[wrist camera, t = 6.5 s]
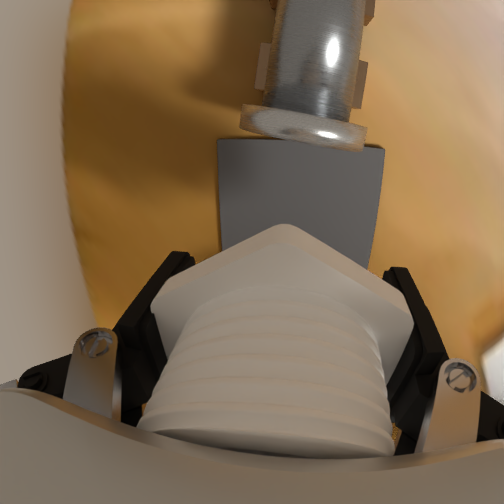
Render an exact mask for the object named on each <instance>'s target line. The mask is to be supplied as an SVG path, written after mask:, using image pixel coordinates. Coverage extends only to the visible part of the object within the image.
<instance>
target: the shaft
mask: <svg viewBox="0 0 504 504" xmlns="http://www.w3.org/2000/svg"><path fill="white" fill-rule="evenodd" d="M269 2H270V4H271V7H272V9H276V15H275V22H274V28H273V35H272V41H271V43H261V45H260V52H259V58H258V65H257V72H256V79H255V86H254V89H256V90H259V91H264V95H263V101H262V106H260V105H251V104H242V109H241V116H240V124H239V128H241V129H243V130H246V131H249V132H253V133H257V134H261V135H266V136H270V137H275V138H280V139H285V140H290V141H295V142H300V143H305V144H310V145H316V146H321V147H327V148H332V149H338V150H345V151H352V152H362V151H363V147H364V143H365V138H366V133H367V127H364V126H360V125H356V124H353V123H349V117H350V112H351V108H353V109H361V104H362V98H363V93H364V87H365V80H366V74H367V67H368V62H364V61H361V60H359V56H360V49H361V41H362V33H363V25H364V26H367V25H368V24H369V22H370V21H371V20H372V18H373V17H374V8H375V0H269Z"/></svg>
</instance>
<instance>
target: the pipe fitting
mask: <svg viewBox="0 0 504 504" xmlns="http://www.w3.org/2000/svg"><path fill="white" fill-rule="evenodd" d="M151 313H154V315H155V318H156V322H157V326H158V329H159V333H160V336H161V340H162V343H163V346H164V350H165V353H166V356H167V359H168V361H167V364H166V365H165V367H164V369H163V371H162V373H161V376H160V378H159V381H158V382H157V384H156V386H155V388H154V390H153V392H152V397H151V398H150V399H149V401H148V402H147V404H146V407H145V410H144V413H143V417H141V419H140V421H139V423H138V424H137V427H136V428H139V429H142V430H145V431H149V432H152V433H155V434H159V435H162V436H166V437H170V438H173V439H177V440H181V441H185V442H190V443H194V444H199V445H203V446H208V447H213V448H218V449H224V450H229V451H236V452H242V453H249V454H257V455H266V456H276V457H288V458H304V459H362V458H378V457H389V456H393V455H394V452H395V445H394V441H393V439H392V438H391V436H392V430H393V428H392V423H391V420H390V406H389V402H388V400H387V388H386V385H387V383H388V381H389V380H390V378H391V376H392V374H393V372H394V370H395V368H396V366H397V364H398V362H399V360H400V358H401V356H402V353H403V351H404V349H405V346H406V344H407V342H408V339H409V337H410V335H411V332H412V330H413V325H414V322H413V318H412V315H411V313H410V310H409V308H408V305H407V303H406V300H405V298H404V296H403V294H402V293H401V292H400V291H399V290H397V289H396V288H394V287H393V286H391V285H390V284H388V283H387V282H385V281H384V280H382V279H380V278H379V277H377V276H376V275H374V274H373V273H371V272H370V271H368V270H366V269H365V268H363V267H362V266H360V265H358V264H357V263H355V262H354V261H352V260H351V259H349V258H347V257H346V256H344V255H342V254H341V253H339V252H338V251H336V250H334V249H333V248H331V247H329V246H328V245H326V244H325V243H323V242H321V241H320V240H318V239H316V238H315V237H313V236H311V235H310V234H308V233H306V232H305V231H303V230H301V229H300V228H298V227H295V226H293V225H290V224H279V225H275V226H273V227H271V228H268V229H266V230H264V231H262V232H260V233H258V234H256V235H254V236H252V237H250V238H248V239H246V240H244V241H242V242H240V243H238V244H236V245H234V246H232V247H230V248H228V249H226V250H224V251H222V252H220V253H218V254H216V255H214V256H212V257H210V258H208V259H206V260H204V261H202V262H200V263H198V264H196V265H194V266H192V267H190V268H188V269H186V270H184V271H182V272H180V273H178V274H176V275H174V276H172V277H170V278H169V279H168V280H167V281H166V282H165V284H164V285H163V286H162V288H161V289H160V291H159V292H158V294H157V295H156V297H155V298H154V299H153V301H152V303H151Z"/></svg>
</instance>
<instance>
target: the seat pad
mask: <svg viewBox="0 0 504 504" xmlns="http://www.w3.org/2000/svg"><path fill="white" fill-rule="evenodd" d="M217 153H218V179H219V201H220V221H221V239H222V251H224V250H226V249H228V248H230V247H232V246H234V245H236V244H238V243H240V242H242V241H244V240H246V239H248V238H250V237H252V236H254V235H256V234H258V233H260V232H262V231H264V230H266V229H268V228H271V227H273V226H275V225H279V224H290V225H293V226H295V227H298V228H300V229H301V230H303V231H305V232H306V233H308V234H310V235H311V236H313V237H315V238H316V239H318V240H320V241H321V242H323V243H325V244H326V245H328V246H329V247H331V248H333V249H334V250H336V251H338V252H339V253H341V254H342V255H344V256H346V257H347V258H349V259H351V260H352V261H354V262H355V263H357V264H358V265H360V266H362V267H363V268H365V269H366V270H367V268H368V263H369V258H370V253H371V248H372V242H373V237H374V231H375V225H376V219H377V213H378V206H379V199H380V192H381V184H382V176H383V167H384V157H385V149H382V148H375V147H367V146H364V147H363V151H362V152H352V151H345V150H338V149H332V148H327V147H321V146H316V145H310V144H305V143H300V142H295V141H290V140H279V139H217Z"/></svg>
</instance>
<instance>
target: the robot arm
mask: <svg viewBox="0 0 504 504" xmlns="http://www.w3.org/2000/svg"><path fill="white" fill-rule="evenodd" d="M194 265H195V260H194V257H192V256H190V254H189V253H188V252H180V251H172V252H171V253H170V254H169V256H168V257H167V258H166V259H165V261H164V262H163V263H162V264H161V266H160V267H159V268H158V269H157V271H156V272H155V273H154V275H153V276H152V277H151V278H150V280H149V281H148V282H147V284H146V285H145V286H144V287H143V289H142V290H141V291H140V293H139V294H138V295H137V297H136V298H135V299H134V301H133V302H132V303H131V305H130V306H129V307H128V309H127V310H126V311H125V313H124V314H123V315H122V317H121V318H120V319H119V321H118V322H117V324H116V325H115V327H114V328H113V330H110V329H107V328H94V329H91V330H89V331H86V332H85V333H83V334H82V335H80V337H79V338H78V339H77V341H76V343H75V345H74V348H73V352H72V354H69V355H66V356H64V357H61V358H58V359H55V360H52V361H49V362H46V363H43V364H40V365H37V366H34V367H32V368H30V369H28V370H27V371H25V372H24V373H23V374H22V376H21V377H20V379H19V382H18V381H17V380H16V379H15V380H12V381H9V382H6V383H4V384H1V385H0V504H504V405H502V404H501V403H499V402H498V401H496V400H494V399H493V398H491V397H490V396H488V395H487V394H485V393H484V392H482V391H481V379H480V375H479V373H478V371H477V369H476V368H475V367H474V366H473V365H472V364H470V363H469V362H468V361H465V360H463V359H458V358H454V359H449V357H448V355H447V352H446V350H445V347H444V345H443V342H442V340H441V337H440V335H439V333H438V330H437V328H436V326H435V323H434V321H433V319H432V316H431V314H430V312H429V310H428V308H427V307H426V306H425V304H424V301H423V299H422V297H421V295H420V293H419V291H418V289H417V287H416V285H415V283H414V281H413V279H412V277H411V275H410V273H409V271H408V269H407V268H404V267H390V269H389V271H385V272H384V274H383V278H382V280H384V281H385V282H387V283H388V284H390V285H391V286H393V287H394V288H396V289H397V290H399V291H400V292H401V293H402V294H403V296H404V298H405V300H406V303H407V305H408V308H409V310H410V313H411V315H412V318H413V322H414V325H413V330H412V332H411V335H410V337H409V339H408V342H407V344H406V346H405V349H404V351H403V353H402V356H401V358H400V360H399V362H398V364H397V366H396V368H395V370H394V372H393V374H392V376H391V378H390V380H389V381H388V383H387V385H386V388H387V400H388V402H389V406H390V420H391V423H394V422H395V424H396V427H398V428H399V430H398V433H397V436H396V438H395V441H394V445H395V452H394V455H393V456H389V457H378V458H362V459H304V458H288V457H276V456H266V455H257V454H249V453H242V452H236V451H229V450H224V449H218V448H213V447H208V446H203V445H199V444H194V443H190V442H185V441H181V440H177V439H173V438H170V437H166V436H162V435H159V434H155V433H152V432H149V431H145V430H142V429H139V428H136V427H137V424H138V423H139V421H140V419H141V417H143V413H144V410H145V407H146V403H147V402H148V401H149V399H150V398H151V397H152V392H153V390H154V388H155V386H156V384H157V382H158V381H159V378H160V376H161V373H162V371H163V369H164V367H165V365H166V364H167V361H168V359H167V356H166V353H165V350H164V346H163V343H162V340H161V336H160V333H159V329H158V326H157V322H156V318H155V315H154V313H151V303H152V301H153V299H154V298H155V297H156V295H157V294H158V292H159V291H160V289H161V288H162V286H163V285H164V284H165V282H166V281H167V280H168V279H169V278H170V277H172V276H174V275H176V274H178V273H180V272H182V271H184V270H186V269H188V268H190V267H192V266H194Z"/></svg>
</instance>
